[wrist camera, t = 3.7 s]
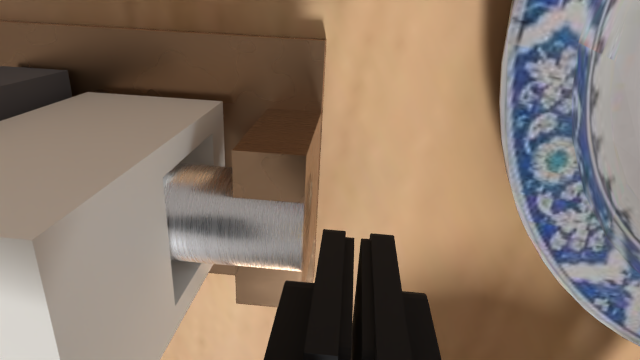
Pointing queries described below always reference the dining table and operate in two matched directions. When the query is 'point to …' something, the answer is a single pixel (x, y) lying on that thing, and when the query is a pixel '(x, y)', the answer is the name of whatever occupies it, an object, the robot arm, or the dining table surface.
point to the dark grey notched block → (31, 89)
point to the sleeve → (97, 225)
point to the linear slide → (239, 136)
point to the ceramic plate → (578, 146)
